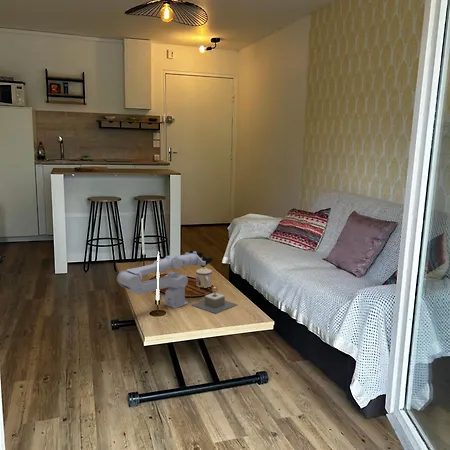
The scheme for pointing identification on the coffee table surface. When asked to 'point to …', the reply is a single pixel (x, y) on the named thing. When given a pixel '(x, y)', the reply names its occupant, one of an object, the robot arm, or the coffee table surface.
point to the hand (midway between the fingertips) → (207, 257)
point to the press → (214, 303)
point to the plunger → (214, 290)
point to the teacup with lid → (204, 277)
